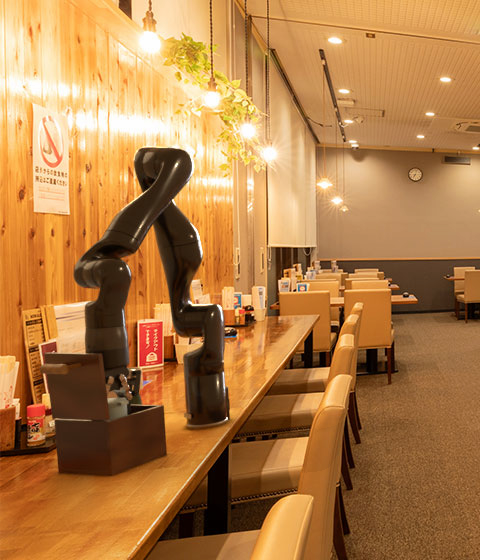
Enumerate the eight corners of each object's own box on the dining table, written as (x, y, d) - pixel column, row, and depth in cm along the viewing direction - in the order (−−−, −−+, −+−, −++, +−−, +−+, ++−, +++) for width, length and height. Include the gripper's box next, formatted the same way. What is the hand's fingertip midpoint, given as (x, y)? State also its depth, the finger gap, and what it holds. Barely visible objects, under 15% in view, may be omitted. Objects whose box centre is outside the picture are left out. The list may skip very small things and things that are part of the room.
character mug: (118, 410, 192) (115, 367, 191) (147, 407, 196) (145, 365, 195) (110, 419, 183) (107, 374, 182) (141, 415, 186) (138, 371, 185)
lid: (47, 352, 138) (20, 358, 133) (102, 353, 136) (76, 359, 131) (56, 417, 140) (29, 425, 135) (110, 419, 138) (85, 427, 133)
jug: (80, 442, 144) (77, 402, 143) (104, 435, 149) (101, 396, 149) (115, 444, 142) (113, 404, 142) (138, 436, 148) (136, 397, 147)
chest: (117, 452, 154) (113, 403, 153) (166, 454, 152) (163, 405, 151) (58, 472, 140) (54, 419, 140) (112, 475, 138) (108, 421, 138)
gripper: (90, 352, 137) (95, 430, 138) (150, 341, 151) (154, 412, 152) (59, 351, 138) (65, 429, 139) (122, 341, 152) (127, 411, 153)
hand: (111, 419), depth 145 cm, fingers closed on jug, 5 cm apart
